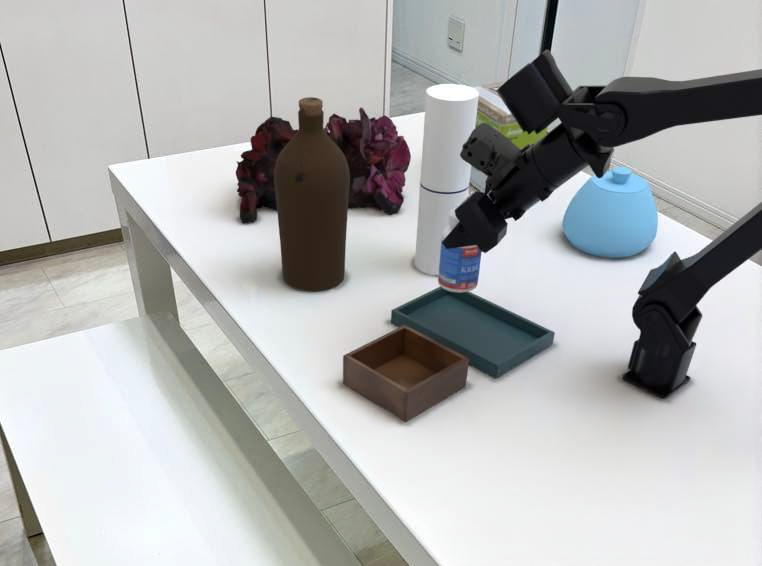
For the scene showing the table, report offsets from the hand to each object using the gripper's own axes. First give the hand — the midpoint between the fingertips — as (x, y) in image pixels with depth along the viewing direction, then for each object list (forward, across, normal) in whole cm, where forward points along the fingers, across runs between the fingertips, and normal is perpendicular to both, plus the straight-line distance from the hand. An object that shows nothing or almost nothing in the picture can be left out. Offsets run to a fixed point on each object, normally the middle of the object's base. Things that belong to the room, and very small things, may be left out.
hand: (452, 236), depth 113 cm
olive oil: (+25, -4, -7) cm, 27 cm away
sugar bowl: (0, -38, +19) cm, 42 cm away
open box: (+8, +16, +10) cm, 21 cm away
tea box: (+17, -52, +1) cm, 54 cm away
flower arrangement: (+34, -30, -16) cm, 48 cm away
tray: (+6, +1, +12) cm, 14 cm away
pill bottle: (+4, 0, +6) cm, 7 cm away
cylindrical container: (+15, -16, +4) cm, 22 cm away
